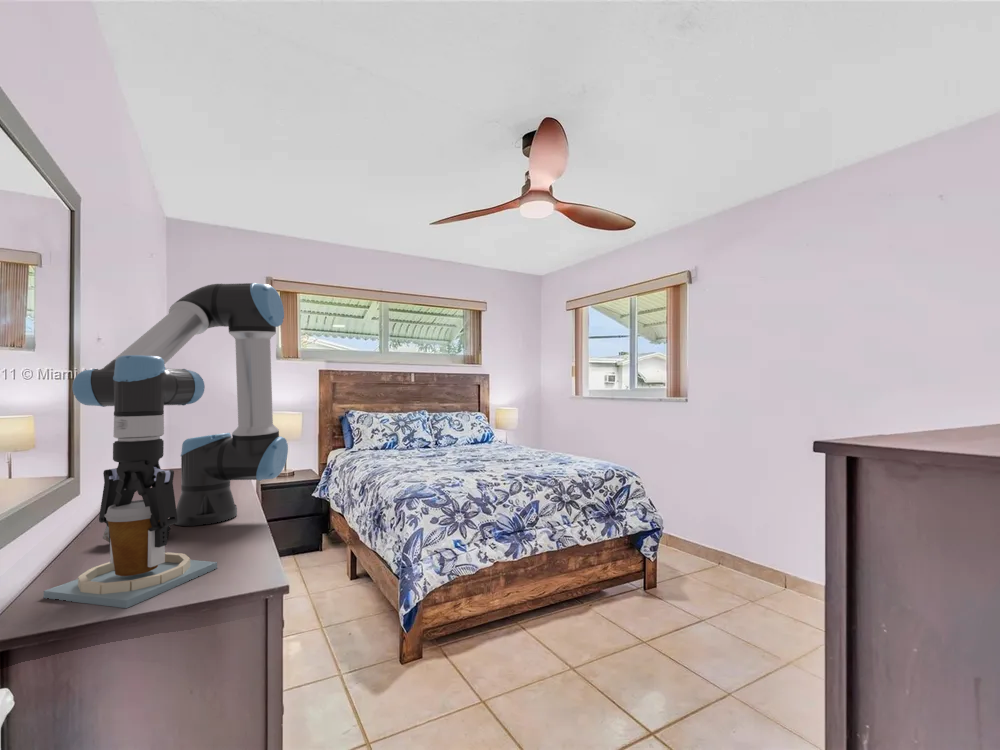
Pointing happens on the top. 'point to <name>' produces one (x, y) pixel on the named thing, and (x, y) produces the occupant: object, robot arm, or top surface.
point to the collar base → (131, 595)
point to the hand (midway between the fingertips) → (137, 562)
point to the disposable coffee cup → (129, 537)
